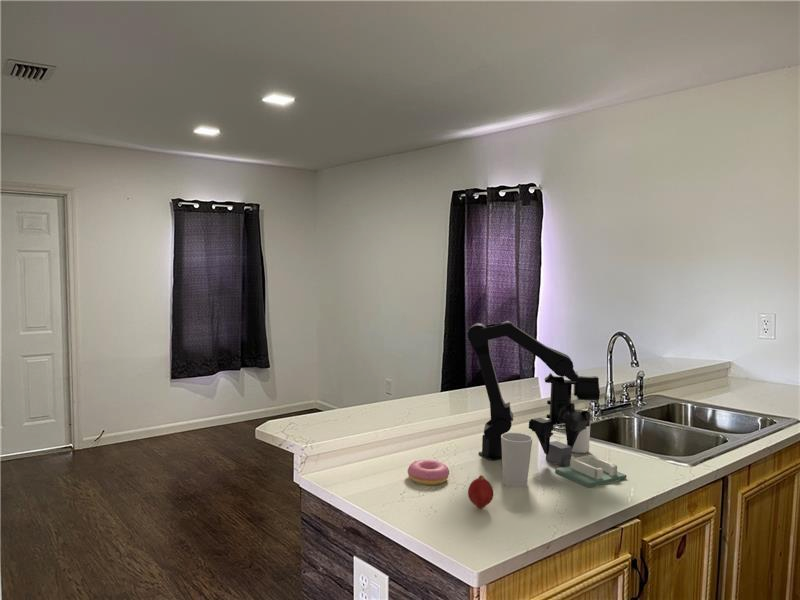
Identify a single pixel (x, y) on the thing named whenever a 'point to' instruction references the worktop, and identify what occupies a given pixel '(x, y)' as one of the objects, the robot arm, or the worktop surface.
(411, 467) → the doughnut
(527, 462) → the cup
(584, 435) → the can
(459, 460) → the worktop surface
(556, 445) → the plug
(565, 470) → the board
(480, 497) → the onion
